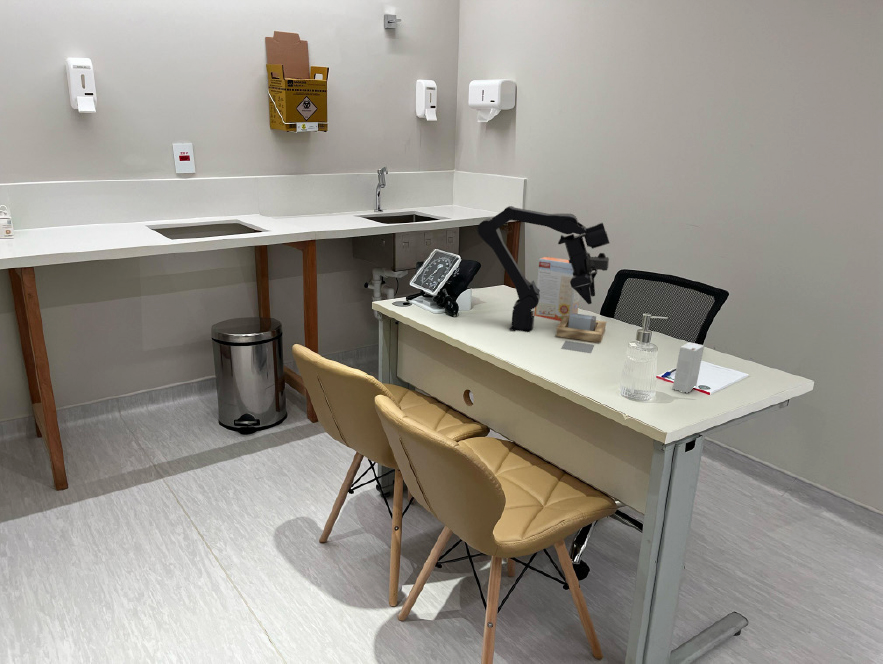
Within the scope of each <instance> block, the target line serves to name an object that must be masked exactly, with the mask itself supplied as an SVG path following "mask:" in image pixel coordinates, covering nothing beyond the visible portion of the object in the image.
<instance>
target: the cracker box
mask: <svg viewBox="0 0 883 664" xmlns="http://www.w3.org/2000/svg"><path fill="white" fill-rule="evenodd" d="M537 271H538V273H537V282H536V287H537V288H538V289H539V290H540V292H539V294H540V299H539V302H538V305H537V306H536V307H535V308H534V311H533V316H534V317H540V318H543V319H548V320H554V321H558V322H561V320H562V319H563V317H564V316H570V315H571V313H576V314H579V305H580V297H581V296H580V294H579V293H578V292H577V291H576V290H575V289H573V288H572V287H571V284H570V281H571V279H572V277H573V269H572V265H571V263H570V264H569V259H565V258H560V257H559V258H558V257H551V256H544V257H541V258H539V263H538V269H537Z"/></svg>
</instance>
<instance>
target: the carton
mask: <svg viewBox="0 0 883 664" xmlns="http://www.w3.org/2000/svg"><path fill="white" fill-rule="evenodd" d="M568 325H569V316H564V317H563V319H562V320H561V321H559V323H558V324H557V326H556V328H555V329H556V334H555V337H559V338H560V337H562V338H568V339H573V340H581V341H587V342H593V343H594V342H595V343H600V344H601V343H602V340H603V338H604V336H605V331H606V326H607V321H604V320H597V319H596V324H595V331H588V330H581V329H574V328H568Z"/></svg>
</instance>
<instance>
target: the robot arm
mask: <svg viewBox="0 0 883 664" xmlns="http://www.w3.org/2000/svg"><path fill="white" fill-rule="evenodd" d="M509 221H515V222H520V223H521V222H522V223H526V224H531V225H537V226H542V227H547V228H549V229H552V230H554V231H555V232H559V233H561V235H560V238H559V240H558V243H557V244H558V245H563V244H564V246H565V249H566V252H567V255H568V258H569V259H568V260H569V264H570V263H571V265H572V269H573V277H572V279H571V281H570V284H571V287H572V288H573V289H575V290H576V291H577V292H578V293H579V294H580V296H579V297H581V298H582V299H583V300H584V301H585V303H586V304H588V305H591V304H593V302H592V297H595V296H596V290H595V289H596V288H595V286H596V285H595V277H596V276H597V275H598V270H602V271H603V272H604V271H608V269H609V263H610V259H609V257H608V256H606V254H605V252H599V254H598V255H597V256H591V253H590V252H588V250H587V248H591V249H596V248H599V247H603V246H605V245H608V244H609V245H610V243H611V242H610V240H609V236H608V233H607V231H606V228H605V225H604V222H599V223H598V224H595V225H592V226H589V227H586V226H585V225H583V223H580V222H579V220H578V218H577V216H576V215H575V214H573V213H546V212H541V211H536V210H529V209H526V208H525V209H524V208H518V207H514V206H512V205H511V206H510V205H509V206H506V207H505V209H503V210H502V211H501V212H499V213H497V214H496V215H495V216H493V217H492V218H485V219H484V220H482V221H481V222H480V223H479V224H478V226H477V234H478V236H479V237H480V238H481V239H482V241H484V242H485V244H486V245H488V246H489V247H490V248H491V249H492V250H493V252H494V254H495V255H496V257H497V258H498V260H499V262H500V263H501V265H502V267H503V269H504V270H505V273H506V274H507V275H508V277H509V278H510V280H511V282H512V284H513V285H514V287H515V290H516V294H517V298H518V299H517V300H516V301H515V302H514V305H513V307H512V308H513V309H512V311H511V312H512V313H511V326H510V327H509V330H510V331H515V332H516V331H518V332H524V333H530V332H531V331H532V330H533V329H534V324H535V316H534V310H535V307H536V306H537V305H538V302H539V299H540V294H539V292H540V290H539V289H538V288H537V284H536V282H535V280H532V281H529V279H527V278H526V277H525V275H524V273H523V272H522V270H521V269H520V267H519V265H518V263H517V262H516V260H515V259H514V257H513V255H512V254H511V252H510V250H509V248H508V247H507V245H506V244H505V242H504V240H503V235H502V233H501V230H500V228H501V227H502V226H504V225H505V224H507V223H509ZM563 234H564V235H563ZM584 241H585V242H584ZM585 243H586V245H585ZM586 246H587V247H586Z"/></svg>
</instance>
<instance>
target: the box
mask: <svg viewBox="0 0 883 664" xmlns="http://www.w3.org/2000/svg"><path fill="white" fill-rule="evenodd" d="M596 320H597V316H596V315H589V314H582V313H578V314H576V313H571V315H570V316H569V325H568V328H574V329H581V330H588V331H595V324H596Z"/></svg>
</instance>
